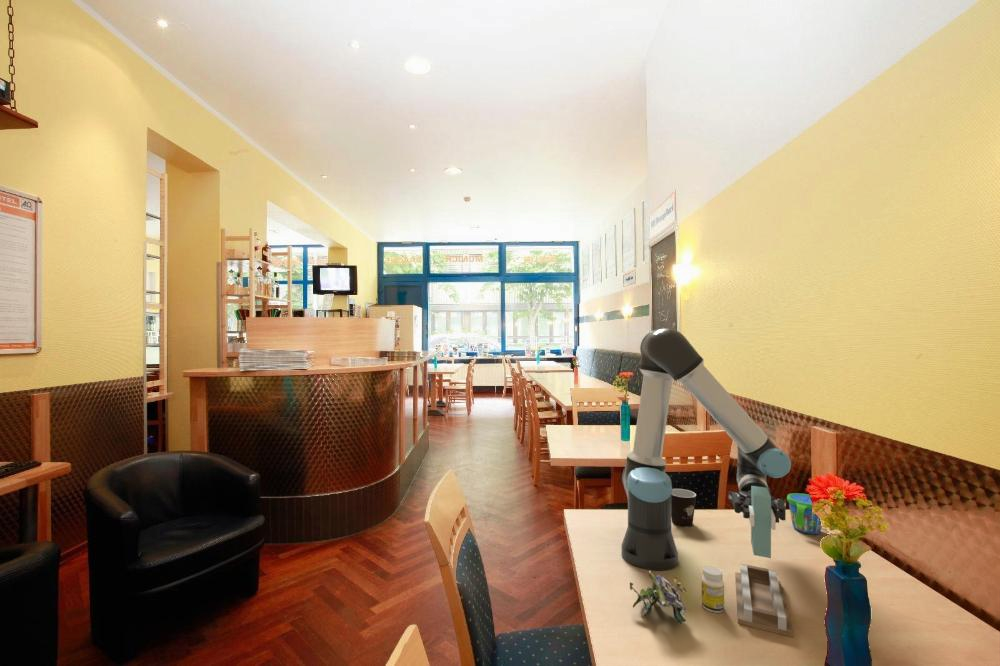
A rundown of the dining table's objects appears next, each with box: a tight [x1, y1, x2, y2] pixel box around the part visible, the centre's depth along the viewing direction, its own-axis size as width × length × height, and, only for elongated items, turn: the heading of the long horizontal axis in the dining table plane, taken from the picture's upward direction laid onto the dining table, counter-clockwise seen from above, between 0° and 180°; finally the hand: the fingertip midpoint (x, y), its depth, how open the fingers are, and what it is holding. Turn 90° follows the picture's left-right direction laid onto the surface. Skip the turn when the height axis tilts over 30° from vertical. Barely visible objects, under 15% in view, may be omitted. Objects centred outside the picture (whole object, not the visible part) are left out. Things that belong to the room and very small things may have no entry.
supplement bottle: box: [701, 565, 725, 614], centre depth 103 cm, size 5×5×8 cm
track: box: [735, 563, 794, 638], centre depth 105 cm, size 22×10×4 cm, turn 154°
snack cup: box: [786, 492, 823, 535], centre depth 146 cm, size 16×10×10 cm
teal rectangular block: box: [750, 486, 772, 559], centre depth 110 cm, size 8×4×14 cm, turn 155°
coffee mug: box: [671, 488, 697, 528], centre depth 151 cm, size 12×9×10 cm
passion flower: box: [629, 570, 687, 625], centre depth 99 cm, size 11×11×12 cm
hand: (763, 522), depth 105 cm, fingers closed on teal rectangular block, 3 cm apart
